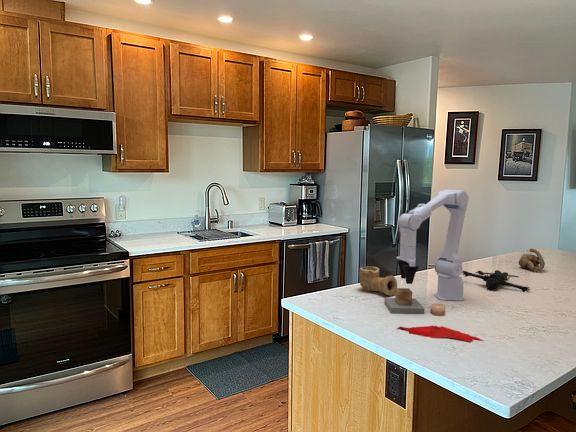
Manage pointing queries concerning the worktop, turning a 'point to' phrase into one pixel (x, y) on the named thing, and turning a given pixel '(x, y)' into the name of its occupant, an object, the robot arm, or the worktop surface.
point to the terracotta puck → (437, 309)
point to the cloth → (439, 333)
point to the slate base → (404, 307)
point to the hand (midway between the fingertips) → (406, 280)
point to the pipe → (377, 281)
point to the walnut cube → (403, 296)
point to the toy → (495, 279)
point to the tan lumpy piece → (532, 261)
